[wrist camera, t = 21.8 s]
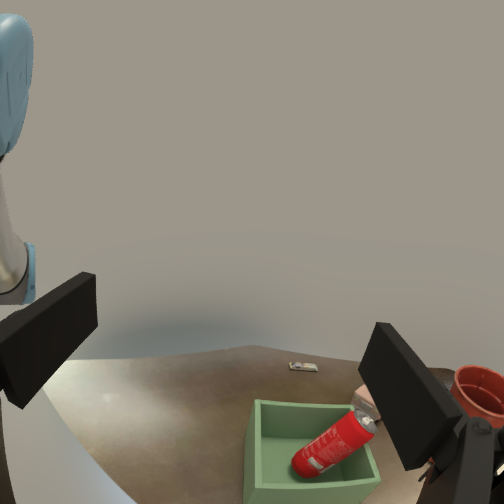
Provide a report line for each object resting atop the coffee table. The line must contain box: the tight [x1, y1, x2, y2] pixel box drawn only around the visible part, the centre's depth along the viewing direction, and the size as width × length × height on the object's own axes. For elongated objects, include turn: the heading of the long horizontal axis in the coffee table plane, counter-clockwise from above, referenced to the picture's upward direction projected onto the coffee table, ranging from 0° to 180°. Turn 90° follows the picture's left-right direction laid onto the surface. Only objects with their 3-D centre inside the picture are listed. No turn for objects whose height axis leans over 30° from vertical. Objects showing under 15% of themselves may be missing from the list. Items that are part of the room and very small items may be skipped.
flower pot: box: [428, 365, 504, 463], centre depth 32 cm, size 16×16×16 cm
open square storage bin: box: [243, 399, 382, 504], centre depth 31 cm, size 16×16×9 cm
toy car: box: [350, 384, 381, 422], centre depth 49 cm, size 9×15×10 cm, turn 129°
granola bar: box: [289, 362, 318, 371], centre depth 61 cm, size 7×2×1 cm, turn 90°
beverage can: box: [291, 408, 377, 479], centre depth 31 cm, size 5×5×12 cm
